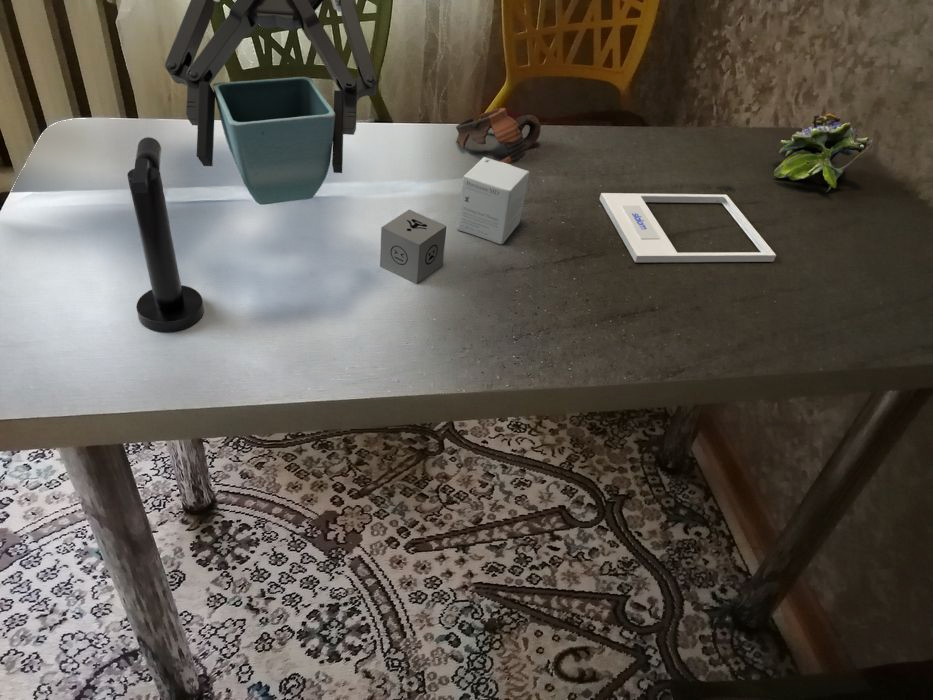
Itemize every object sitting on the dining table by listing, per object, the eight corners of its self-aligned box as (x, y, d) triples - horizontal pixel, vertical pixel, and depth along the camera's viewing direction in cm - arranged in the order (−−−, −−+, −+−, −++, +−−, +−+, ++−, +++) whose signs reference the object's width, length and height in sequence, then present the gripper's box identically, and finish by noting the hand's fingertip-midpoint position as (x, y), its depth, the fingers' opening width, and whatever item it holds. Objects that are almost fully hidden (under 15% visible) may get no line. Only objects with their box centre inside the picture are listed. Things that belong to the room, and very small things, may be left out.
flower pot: (222, 173, 71) (210, 81, 65) (313, 163, 75) (309, 74, 69) (241, 220, 65) (230, 124, 60) (338, 207, 69) (337, 114, 63)
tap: (143, 271, 77) (110, 124, 67) (204, 268, 79) (181, 123, 68) (136, 338, 70) (97, 183, 59) (203, 332, 71) (178, 181, 61)
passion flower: (790, 200, 116) (848, 136, 113) (834, 225, 107) (899, 157, 104) (748, 159, 111) (807, 91, 107) (791, 183, 102) (857, 109, 98)
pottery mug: (486, 187, 99) (465, 127, 96) (459, 185, 107) (439, 129, 104) (561, 154, 102) (543, 94, 99) (529, 153, 110) (512, 98, 107)
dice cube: (442, 263, 84) (446, 225, 81) (416, 283, 80) (419, 244, 77) (407, 247, 86) (409, 209, 82) (380, 266, 82) (381, 227, 79)
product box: (455, 230, 89) (461, 175, 85) (476, 208, 94) (483, 155, 89) (502, 246, 88) (511, 190, 83) (521, 223, 92) (530, 169, 87)
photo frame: (601, 191, 98) (727, 193, 101) (599, 199, 99) (724, 200, 102) (637, 254, 87) (776, 253, 90) (635, 262, 88) (773, 261, 91)
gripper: (407, -41, 72) (402, 183, 70) (157, -63, 69) (146, 170, 67) (411, -92, 64) (405, 158, 63) (131, -119, 62) (118, 142, 60)
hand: (271, 165), depth 65 cm, fingers closed on flower pot, 11 cm apart
